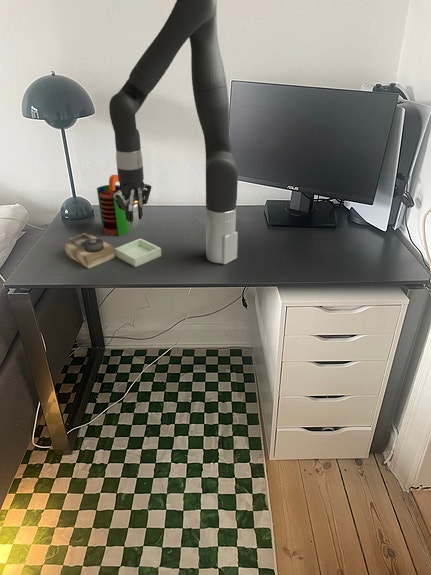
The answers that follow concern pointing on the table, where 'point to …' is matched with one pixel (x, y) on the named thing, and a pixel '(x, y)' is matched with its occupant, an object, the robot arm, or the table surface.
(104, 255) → the pulley block
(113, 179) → the motor
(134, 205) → the pin
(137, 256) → the tray
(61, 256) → the table surface
